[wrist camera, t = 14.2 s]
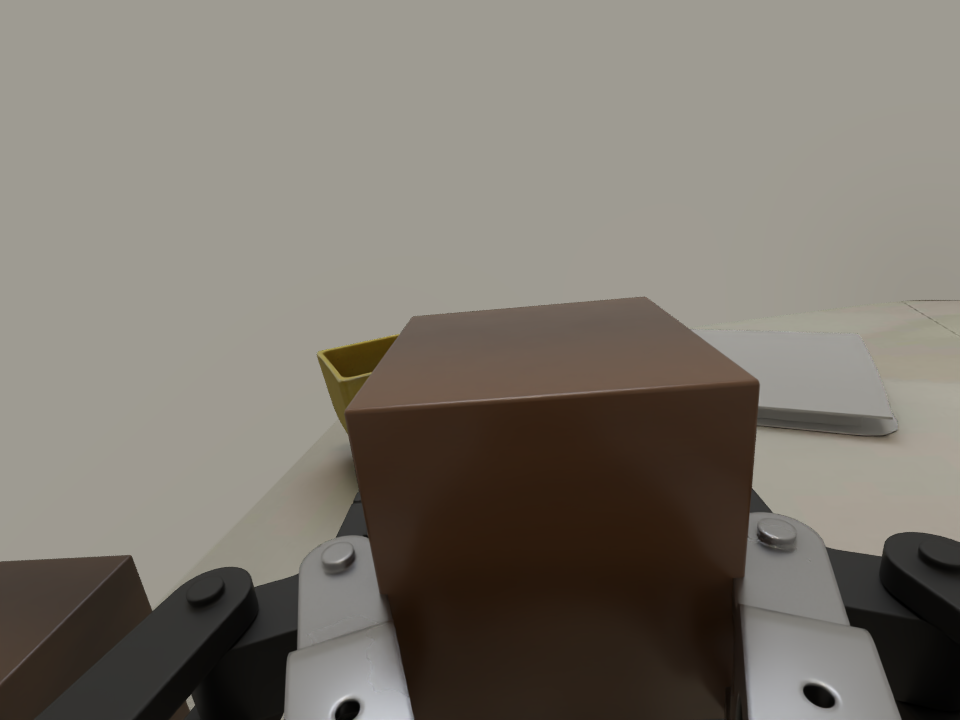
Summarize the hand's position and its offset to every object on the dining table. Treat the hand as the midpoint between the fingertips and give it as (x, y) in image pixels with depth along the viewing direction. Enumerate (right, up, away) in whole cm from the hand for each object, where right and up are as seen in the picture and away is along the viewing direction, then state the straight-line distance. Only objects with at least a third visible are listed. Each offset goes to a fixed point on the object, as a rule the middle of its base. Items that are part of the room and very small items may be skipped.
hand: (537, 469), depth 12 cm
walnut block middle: (0, -7, -1) cm, 7 cm away
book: (+22, 0, +35) cm, 42 cm away
